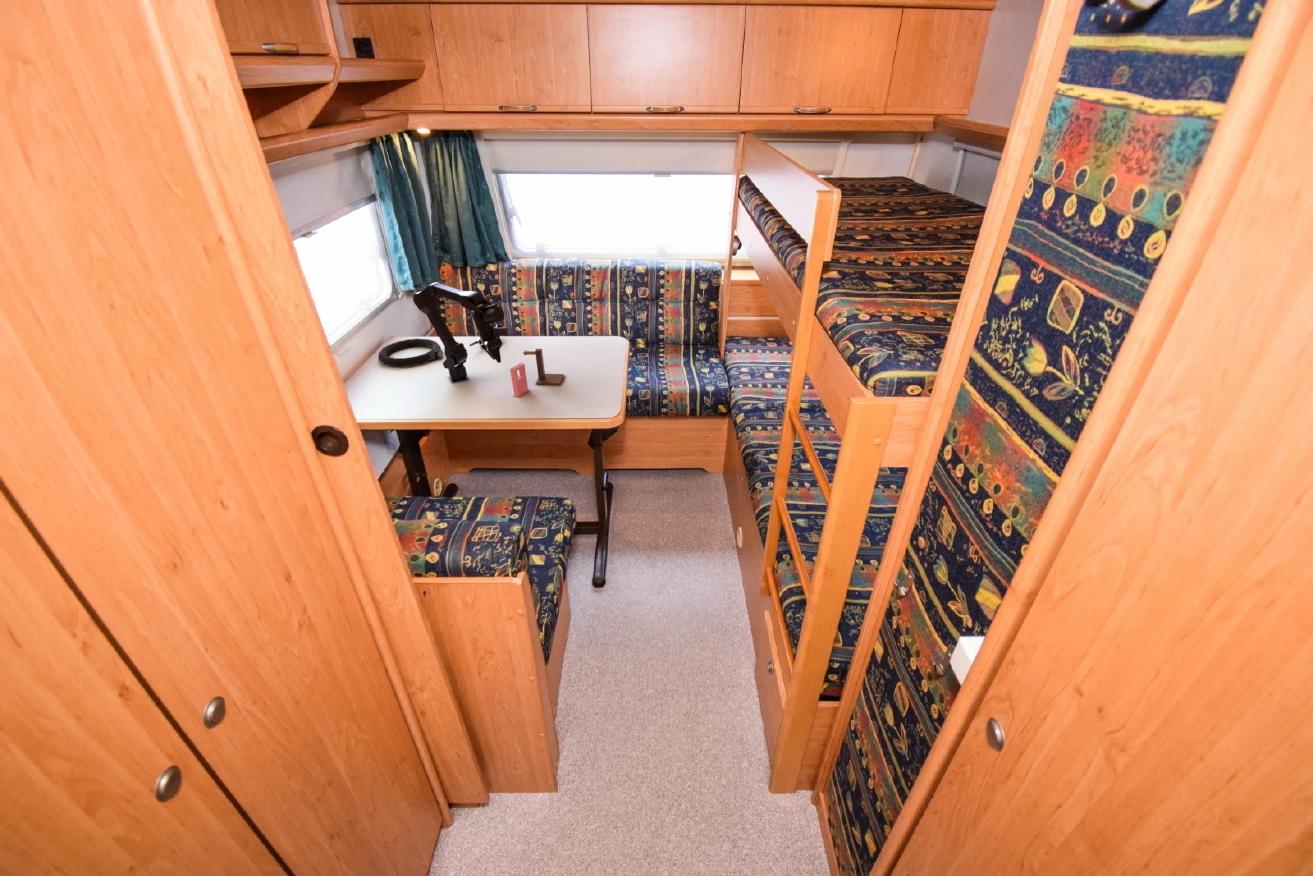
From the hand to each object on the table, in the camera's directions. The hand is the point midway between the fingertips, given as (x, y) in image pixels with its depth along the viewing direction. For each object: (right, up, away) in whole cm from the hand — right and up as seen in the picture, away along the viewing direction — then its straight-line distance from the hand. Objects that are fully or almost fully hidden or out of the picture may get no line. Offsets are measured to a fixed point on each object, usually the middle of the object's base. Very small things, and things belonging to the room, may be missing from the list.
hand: (497, 360), depth 238 cm
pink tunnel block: (+10, -13, +1) cm, 16 cm away
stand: (+16, -7, +11) cm, 21 cm away
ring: (-49, +7, +36) cm, 62 cm away
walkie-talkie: (-18, +13, +45) cm, 50 cm away
